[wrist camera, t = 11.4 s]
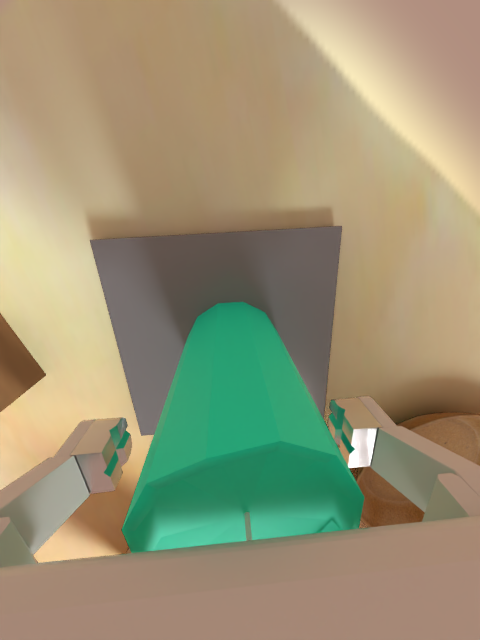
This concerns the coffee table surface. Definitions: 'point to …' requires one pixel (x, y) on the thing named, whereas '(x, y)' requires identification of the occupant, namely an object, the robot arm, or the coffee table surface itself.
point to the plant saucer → (441, 428)
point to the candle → (239, 446)
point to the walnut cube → (15, 366)
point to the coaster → (217, 299)
